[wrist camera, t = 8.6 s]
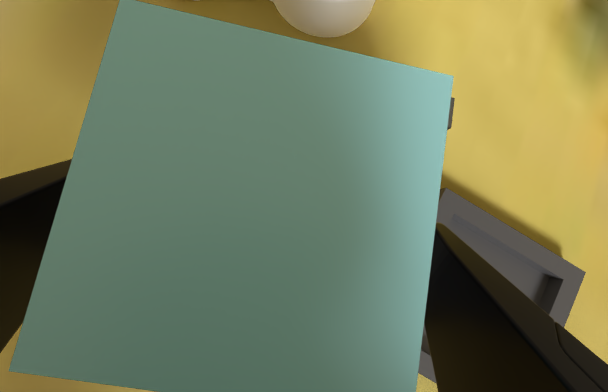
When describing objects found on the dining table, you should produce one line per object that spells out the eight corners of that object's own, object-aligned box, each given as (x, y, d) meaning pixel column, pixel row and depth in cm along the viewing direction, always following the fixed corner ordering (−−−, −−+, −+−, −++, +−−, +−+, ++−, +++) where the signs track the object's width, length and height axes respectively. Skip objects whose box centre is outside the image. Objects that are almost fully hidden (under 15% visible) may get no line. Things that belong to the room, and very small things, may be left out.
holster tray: (503, 418, 16) (521, 433, 15) (360, 335, 16) (367, 343, 15) (564, 269, 18) (585, 272, 16) (434, 190, 17) (446, 187, 16)
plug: (303, 276, 16) (431, 455, 3) (218, 261, 16) (-29, 395, 3) (317, 194, 17) (474, 61, 4) (236, 178, 16) (103, -29, 3)
